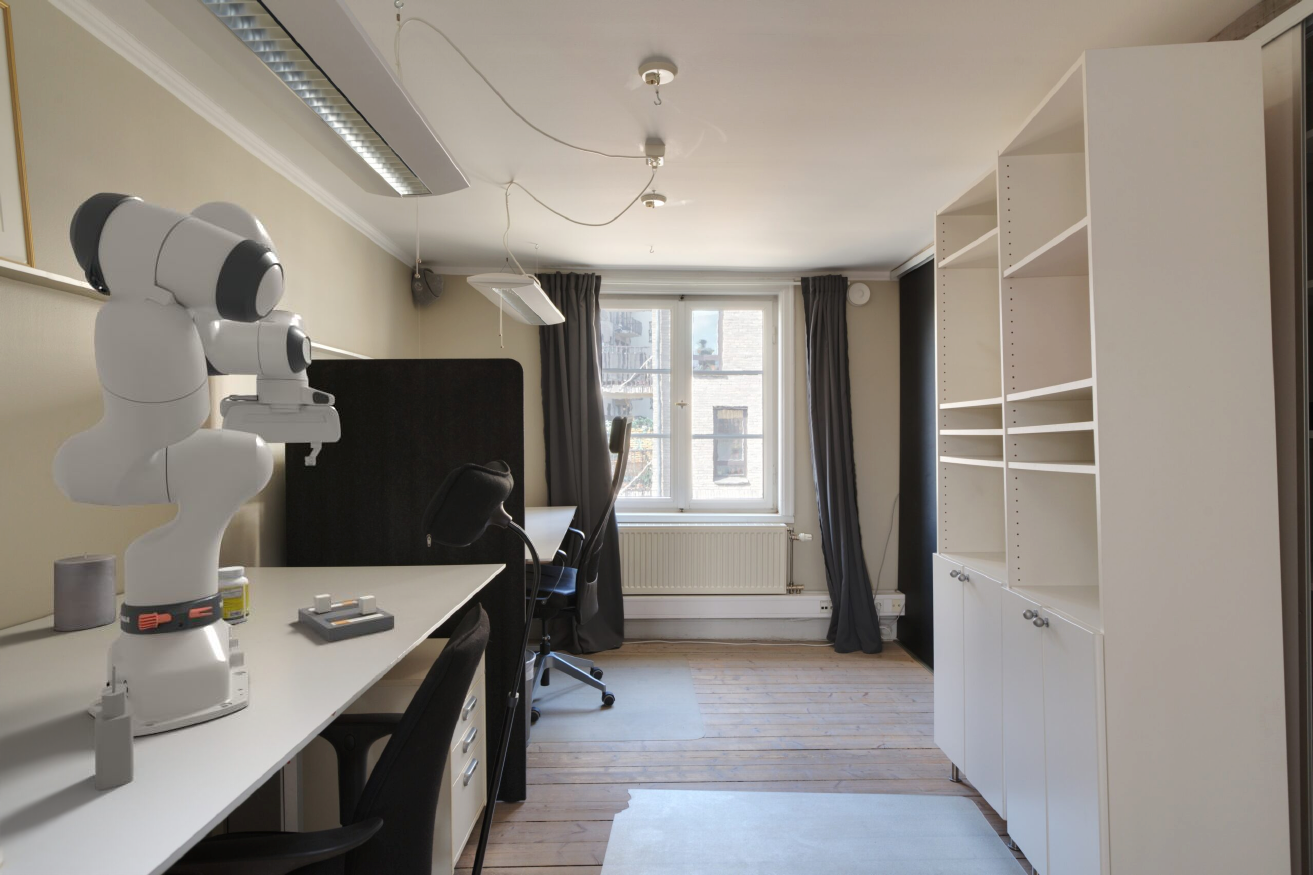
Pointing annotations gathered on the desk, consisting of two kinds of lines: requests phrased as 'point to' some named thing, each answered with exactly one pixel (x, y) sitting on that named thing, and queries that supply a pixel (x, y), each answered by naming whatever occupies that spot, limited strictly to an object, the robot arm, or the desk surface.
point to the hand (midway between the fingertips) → (284, 466)
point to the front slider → (367, 604)
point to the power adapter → (114, 737)
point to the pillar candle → (84, 592)
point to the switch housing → (345, 621)
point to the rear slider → (322, 603)
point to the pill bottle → (234, 594)
